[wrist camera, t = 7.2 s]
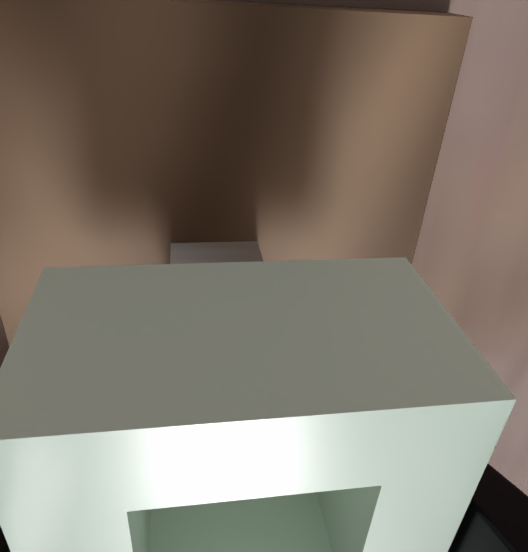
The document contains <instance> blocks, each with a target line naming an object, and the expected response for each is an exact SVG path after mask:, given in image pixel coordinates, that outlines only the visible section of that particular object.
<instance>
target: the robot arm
mask: <svg viewBox="0 0 528 552" xmlns="http://www.w3.org/2000/svg"><path fill="white" fill-rule="evenodd" d="M0 552H11V551H10V549H9V546H8V544H7V541H6V539H5V536H4V534H3V531H2V528H1V526H0ZM448 552H528V496H527V495H526V494H524V493H523V492H522V491H521V490H520V489H518V488H517V487H516V486H515V485H514V484H512V483H511V482H510V481H509V480H507V479H506V478H505V477H504V476H503V475H501V474H500V473H499V472H498V471H496V470H495V469H494V468H493V467H492V466H490V465H489V464H487V466H486V468H485V470H484V472H483V475H482V477H481V479H480V481H479V483H478V486H477V488H476V490H475V492H474V495H473V497H472V499H471V501H470V503H469V506H468V508H467V510H466V512H465V515H464V517H463V519H462V521H461V523H460V526H459V528H458V530H457V532H456V534H455V537H454V539H453V541H452V543H451V546H450V548H449V550H448Z"/></svg>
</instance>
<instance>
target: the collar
mask: <svg viewBox="0 0 528 552" xmlns="http://www.w3.org/2000/svg"><path fill="white" fill-rule="evenodd" d="M515 402H516V398H515V397H514V396H513V394H512V393H511V392H510V391H509V389H508V388H507V387H506V385H505V384H504V383H503V382H502V380H501V379H500V378H499V376H498V375H497V374H496V373H495V371H494V370H493V369H492V367H491V366H490V365H489V364H488V362H487V361H486V360H485V358H484V357H483V356H482V355H481V353H480V352H479V351H478V349H477V348H476V347H475V346H474V344H473V343H472V342H471V340H470V339H469V338H468V337H467V335H466V334H465V333H464V331H463V330H462V329H461V328H460V326H459V325H458V324H457V322H456V321H455V320H454V319H453V317H452V316H451V315H450V313H449V312H448V311H447V310H446V308H445V307H444V306H443V304H442V303H441V302H440V301H439V299H438V298H437V297H436V295H435V294H434V293H433V292H432V290H431V289H430V288H429V286H428V285H427V284H426V283H425V281H424V280H423V279H422V277H421V276H420V275H419V274H418V272H417V271H416V270H415V269H414V267H413V266H412V265H411V263H410V262H409V261H408V260H407V258H406V257H398V258H363V259H328V260H293V261H258V262H223V263H188V264H154V265H119V266H84V267H49V268H44V269H43V271H42V274H41V276H40V278H39V281H38V283H37V285H36V287H35V290H34V292H33V294H32V297H31V299H30V301H29V303H28V306H27V308H26V310H25V313H24V315H23V317H22V319H21V322H20V324H19V326H18V329H17V331H16V333H15V335H14V338H13V340H12V342H11V345H10V347H9V349H8V351H7V354H6V356H5V358H4V361H3V363H2V365H1V368H0V526H1V528H2V531H3V534H4V536H5V539H6V541H7V544H8V546H9V549H10V551H11V552H448V550H449V548H450V546H451V543H452V541H453V539H454V537H455V534H456V532H457V530H458V528H459V526H460V523H461V521H462V519H463V517H464V515H465V512H466V510H467V508H468V506H469V503H470V501H471V499H472V497H473V495H474V492H475V490H476V488H477V486H478V483H479V481H480V479H481V477H482V475H483V472H484V470H485V468H486V466H487V464H488V461H489V459H490V457H491V455H492V452H493V450H494V448H495V446H496V444H497V441H498V439H499V437H500V435H501V433H502V430H503V428H504V426H505V424H506V421H507V419H508V417H509V415H510V413H511V410H512V408H513V406H514V404H515Z"/></svg>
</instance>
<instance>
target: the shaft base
mask: <svg viewBox="0 0 528 552" xmlns="http://www.w3.org/2000/svg"><path fill="white" fill-rule="evenodd" d="M472 18H473V17H469V16H463V15H458V14H452V13H442V12H424V11H405V10H387V9H368V8H350V7H331V6H313V5H294V4H276V3H258V2H239V1H221V0H0V315H1V319H2V322H3V326H4V329H5V333H6V337H7V340H8V344H9V347H10V345H11V342H12V340H13V338H14V335H15V333H16V331H17V329H18V326H19V324H20V322H21V319H22V317H23V315H24V313H25V310H26V308H27V306H28V303H29V301H30V299H31V297H32V294H33V292H34V290H35V287H36V285H37V283H38V281H39V278H40V276H41V274H42V271H43V269H44V268H49V267H84V266H119V265H154V264H188V263H223V262H258V261H293V260H328V259H363V258H398V257H406V258H407V260H408V261H409V262H410V263H411V265H412V261H413V257H414V253H415V249H416V245H417V241H418V237H419V233H420V228H421V224H422V220H423V216H424V212H425V208H426V204H427V200H428V196H429V192H430V188H431V184H432V180H433V176H434V172H435V168H436V164H437V160H438V156H439V152H440V148H441V144H442V140H443V136H444V132H445V127H446V123H447V119H448V115H449V111H450V107H451V103H452V99H453V95H454V91H455V87H456V83H457V79H458V75H459V71H460V67H461V63H462V59H463V55H464V51H465V47H466V43H467V39H468V35H469V31H470V26H471V22H472Z"/></svg>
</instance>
